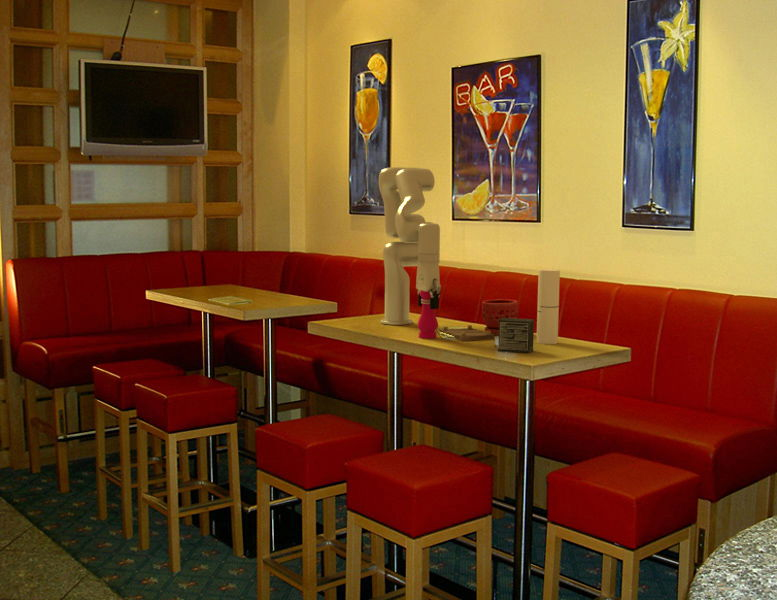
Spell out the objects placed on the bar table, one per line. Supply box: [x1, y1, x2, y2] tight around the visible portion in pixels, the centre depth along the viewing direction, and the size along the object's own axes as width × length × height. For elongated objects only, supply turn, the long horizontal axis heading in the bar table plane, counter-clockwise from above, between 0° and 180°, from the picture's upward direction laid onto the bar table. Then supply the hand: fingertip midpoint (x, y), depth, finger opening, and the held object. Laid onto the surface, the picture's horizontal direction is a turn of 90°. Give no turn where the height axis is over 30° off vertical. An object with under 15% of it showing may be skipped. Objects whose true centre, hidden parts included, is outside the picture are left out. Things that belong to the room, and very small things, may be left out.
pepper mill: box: [417, 290, 439, 340], centre depth 330 cm, size 7×7×20 cm
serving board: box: [439, 324, 496, 342], centre depth 333 cm, size 17×13×3 cm
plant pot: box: [481, 298, 519, 336], centre depth 342 cm, size 13×13×12 cm
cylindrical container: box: [536, 268, 561, 345], centre depth 321 cm, size 7×7×25 cm
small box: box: [497, 318, 535, 354], centre depth 304 cm, size 11×6×10 cm, turn 69°
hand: (428, 307), depth 329 cm, fingers open, 9 cm apart
